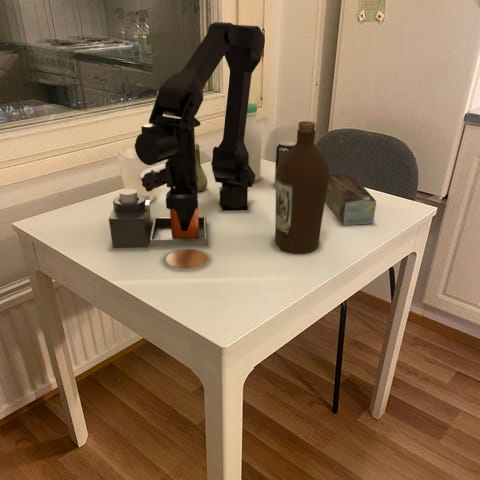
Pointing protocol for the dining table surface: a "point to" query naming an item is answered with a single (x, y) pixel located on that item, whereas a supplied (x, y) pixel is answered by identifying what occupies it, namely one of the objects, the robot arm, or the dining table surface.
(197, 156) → the green gourd vase
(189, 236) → the orange cup
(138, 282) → the dining table surface
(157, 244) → the drip tray
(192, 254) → the cork coaster
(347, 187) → the beverage carton
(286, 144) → the beverage can
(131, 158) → the cup
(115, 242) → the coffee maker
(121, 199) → the button
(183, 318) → the dining table surface
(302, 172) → the olive oil
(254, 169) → the milk bottle
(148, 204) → the grey small block
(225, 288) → the dining table surface
